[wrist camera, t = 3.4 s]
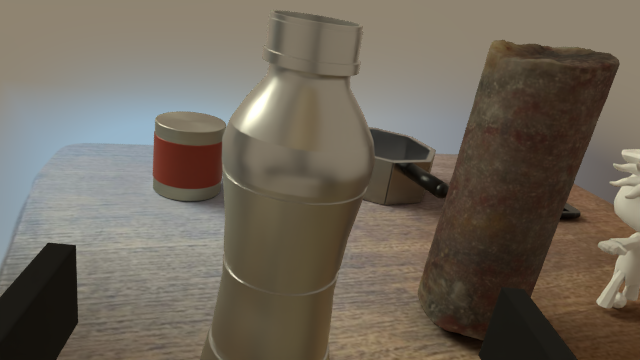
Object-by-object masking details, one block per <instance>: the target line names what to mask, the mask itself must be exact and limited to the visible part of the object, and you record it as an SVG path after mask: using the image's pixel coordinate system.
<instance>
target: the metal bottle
mask: <svg viewBox="0 0 640 360" xmlns="http://www.w3.org/2000/svg"><path fill="white" fill-rule="evenodd" d="M362 28H363V26H362V25H359V24H356V23H353V22H349V21H344V20H339V19H334V18H329V17H324V16H317V15H311V14H304V13H298V12H290V11H278V10H272V11H270V16H269V20H268V31H267V41H266V45H264V47H263V55H262V58H263V59H264V60H265V61H267V62H270V64H269V69H268V72H267V75H266V76H265V77H264V78H263V79H262V80H261V82H260V83H258V85H257V86H256V87H255V88H254V89H253V90H252V91H251V92H250V93H249V94H248V95H247V96H246V98H245V99H244V100H243V102H242V103H241V104H240V106H239V107H238V108H237V110H236V111H235V112H234V113H233V115H232V116H231V118H230V120H229V123H228V125H227V127H226V130H225V132H224V134H223V137H222V163H223V164H222V170H223V189H224V208H225V229H224V255H223V271H222V277H221V282H220V287H219V292H218V297H217V302H216V307H215V311H214V316H213V321H212V324H211V326H210V329H209V332H208V334H207V337H206V340H205V343H204V347H203V351H202V355H201V358H200V360H330V358H329V332H330V322H331V313H332V304H333V295H334V289H335V285H336V281H337V278H338V274H339V273H338V270H339V269H340V266H341V263H342V259H343V255H344V251H345V248H346V244H347V240H348V237H349V234H350V232H351V229H352V226H353V224H354V221H355V218H356V216H357V213H358V210H359V208H360V205H361V203H362V200H363V197H364V195H365V192H366V189H367V186H368V185H369V182H370V178H371V175H372V171H373V168H374V165H375V153H374V141H373V138H372V135H371V132H370V130H369V127H368V125H367V122H366V120H365V117H364V115H363V112H362V111H361V109H360V107H359V105H358V103H357V101H356V99H355V97H354V95H353V93H352V91H351V89H350V76H352V75H357V74H358V73H359V69H360V61H359V60H358V59H359V53H360V47H361V41H362V35H363V31H362Z"/></svg>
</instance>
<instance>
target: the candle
mask: <svg viewBox="0 0 640 360" xmlns="http://www.w3.org/2000/svg"><path fill="white" fill-rule="evenodd" d="M618 67H619V60H618V59H617V58H616V57H614V56H612V55H611V54H609V53H602V52H595V51H592V50H591V49H584V48H579V47H558V48H552V47H549V46H541V45H538V44H526V45H525V44H523V45H516V44H514V43H512V42H506V41H505V40H500V41H494V42H492V44H491V46H490V49H489V52H488V55H487V59H486V62H485V66H484V69H483V72H482V76H481V79H480V82H479V86H478V89H477V92H476V96H475V100H474V104H473V107H472V111H471V114H470V117H469V120H468V123H467V127H466V130H465V134H464V137H463V141H462V145H461V147H460V151H459V154H458V158H457V162H456V166H455V169H454V173H453V176H452V179H451V182H450V186H449V189H448V192H447V196H446V199H445V202H444V206H443V209H442V212H441V216H440V219H439V222H438V225H437V228H436V232H435V235H434V239H433V242H432V245H431V248H430V251H429V255H428V258H427V261H426V265H425V268H424V272H423V276H422V278H421V281H420V285H419V288H418V296H419V300H420V303H421V305H422V307H423V309H424V311H425V313H426V314H427V316H428V317H429V318H430V319H431V320H432V322H433V323H434V324H436V325H438V326H440V327H442V328H443V329H445V330H447V331H451V332H456V333H460V334H462V335H465V336H469V337H473V338H477V339H479V340H484V337H485V334H486V331H487V328H488V325H489V323H490V320H491V317H492V314H493V311H494V308H495V305H496V302H497V299H498V296H499V293H500V290H501V287H508V288H518V289H524V290H525V291H526V292H527V294H528V295H529V296H530V297H531V295H532V292H533V289H534V287H535V284H536V282H537V279H538V276H539V274H540V271H541V269H542V266H543V263H544V260H545V257H546V255H547V252H548V249H549V247H550V244H551V241H552V239H553V236H554V233H555V231H556V228H557V225H558V222H559V220H560V217H561V214H562V212H563V209H564V207H565V204H566V201H567V199H568V196H569V193H570V191H571V188H572V186H573V183H574V180H575V177H576V174H577V172H578V170H579V167H580V165H581V162H582V159H583V157H584V154H585V152H586V150H587V147H588V145H589V142H590V140H591V137H592V134H593V132H594V129H595V126H596V123H597V121H598V118H599V116H600V113H601V111H602V108H603V106H604V104H605V102H606V99H607V97H608V93H609V90H610V88H611V85H612V83H613V80H614V77H615V75H616V72H617V70H618Z"/></svg>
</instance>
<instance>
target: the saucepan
mask: <svg viewBox="0 0 640 360" xmlns="http://www.w3.org/2000/svg"><path fill="white" fill-rule="evenodd" d="M369 130H370V132H371V135H372V138H373V141H374V153H375V165H374V168H373V171H372V175H371V178H370V182H369V185H368V186H367V189H366V192H365V195H364V197H363V199H364V200H367V201H371V202H375V203H378V204H382V205H394V204H408V203H420V202H421V201H422V198H423V196H424V193H425V190H427V191H429V192H430V193H432V194H433V195H435V196H436V197H438V198H446V196H447V192H448V189H449V186H448V185H447V184H446V183H444V182H443V181H441V180H439V179H438V178H436V177H435V176H433V175H431V174H430V172H431V168H432V164H433V160H434V156H435V152H436V150H435V149H433V148H431V147H429V146H427V145H426V144H424V143H422V142H420V141H418V140H416V139H415V138H413V137H410V136H407V135H403V134H399V133H394V132H390V131H386V130H382V129H378V128H370V127H369Z"/></svg>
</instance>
